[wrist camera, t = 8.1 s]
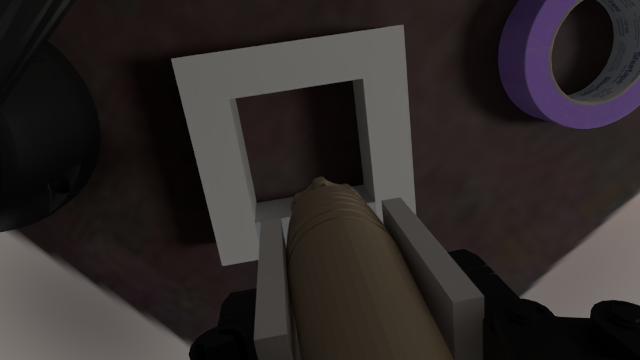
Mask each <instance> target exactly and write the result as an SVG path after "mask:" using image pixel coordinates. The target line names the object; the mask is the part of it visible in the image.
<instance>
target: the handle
mask: <svg viewBox="0 0 640 360" xmlns="http://www.w3.org/2000/svg"><path fill="white" fill-rule="evenodd" d="M291 211H292V215H291V218H290V221H289V226H288V232H287V245H286V257H287V273H288V283H289V290H290V295H291V301H292V306H293V312H294V317H295V323H296V328H297V334H298V339H299V345H300V351H301V357H302V360H454V358H453V356H452V354H451V352H450V350H449V348H448V346H447V344H446V342H445V340H444V338H443V336H442V334H441V332H440V331H439V329H438V327H437V325H436V323H435V321H434V319H433V317H432V315H431V313H430V311H429V309H428V307H427V305H426V303H425V301H424V298H423V296H422V294H421V292H420V290H419V288H418V286H417V284H416V282H415V280H414V278H413V276H412V274H411V272H410V270H409V268H408V266H407V264H406V262H405V260H404V257H403V255H402V253H401V251H400V249H399V247H398V245H397V244H396V242H395V241H394V239H393V238H392V236H391V235H390V233H389V231H388V230H387V228H386V227H385V226H384V224H383V223H382V221H381V220H380V219H379V218H378V216H377V215H376V214H375V212H374V211H373V210H372V209H371V207H370V206H369V205H368V204H367V203H366V202H365V201H364V200H363V199H362V198H361V196H360V195H359V193H358V192H357V191H356V190H355V189H354V188H353V187H351V186H350V185H348V184H335V183H332V182H329V181H327V180H326V179H325V178H324V177H318V178H315V179H313V180H312V183H311V184H310V186H309V187H308V188H307V189H305V190H304V191H302V192H300V193H296V194H295V196H294V198H293V200H292V203H291Z"/></svg>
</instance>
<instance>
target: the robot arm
mask: <svg viewBox="0 0 640 360" xmlns="http://www.w3.org/2000/svg"><path fill="white" fill-rule="evenodd" d="M75 1H76V0H0V232H4V231H9V230H14V229H18V228H22V227H25V226H28V225H31V224H34V223H36V222H38V221H40V220H42V219H44V218H46V217H48V216H50V215H51V214H53V213H54V212H56V211H57V210H58V209H60V208H61V207H62V206H64V205H65V204H66V203H68V202H69V201H70V200H72V199H73V198H74V197H75V196H76V195H77V194H78V193H79V192H80V191H81V190H82V189H83V187H84V186H85V185H86V183H87V182H88V180H89V178H90V177H91V175H92V173H93V171H94V168H95V166H96V162H97V159H98V155H99V149H100V126H99V119H98V114H97V111H96V107H95V104H94V102H93V99H92V97H91V94H90V92H89V90H88V88H87V86H86V84H85V83H84V81H83V79H82V78H81V76H80V75H79V73H78V72H77V71H76V69H75V68H74V67H73V65H72V64H71V63H70V62H69V61H68V60H67V58H66V57H65V56H64V55H63V54H62V53H61V52H60V51H59V50H58V49H56V48H55V47H54V46H53V45H52V44H51V43H49V42H48V39H49V38H50V36H51V35H52V33H53V32H54V31H55V29H56V28H57V26H58V25H59V24H60V22H61V21H62V19H63V18H64V16H65V15H66V14H67V12H68V11H69V9H70V8H71V6H72V5H73V4H74V2H75ZM381 203H382V213H383V223H384V226H385V227H386V228H387V230H388V231H389V233H390V235H391V236H392V238H393V239H394V241H395V242H396V244H397V245H398V247H399V249H400V251H401V253H402V255H403V257H404V260H405V262H406V264H407V266H408V268H409V270H410V272H411V274H412V276H413V278H414V280H415V282H416V284H417V286H418V288H419V290H420V292H421V294H422V296H423V298H424V301H425V303H426V305H427V307H428V309H429V311H430V313H431V315H432V317H433V319H434V321H435V323H436V325H437V327H438V329H439V331H440V332H441V334H442V336H443V338H444V340H445V342H446V344H447V346H448V348H449V350H450V352H451V354H452V356H453V358H454V360H640V306H639V305H636V304H633V303H629V302H625V301H617V300H609V301H601V302H599V303H597V304H595V305H594V306H593V308H592V309H591V315H590V318H571V317H557V316H554V314H553V313H552V312H551V311H550V310H549V309H548V308H547V307H545V306H543V305H541V304H539V303H537V302H535V301H531V300H527V299H520V298H519V297H518V296H517V295H516V294H515V293H514V292H513V291H512V290H511V289H510V288H509V287H508V286H507V285H506V284H505V283H504V282H503V281H502V280H501V278H500V277H499V276H498V275H497V274H495V273H494V271H493V270H492V269H491V268H490V267H488V266H487V264H486V263H485V262H484V261H483V260H482V259H481V258H480V257H479V256H478V255H476V254H474V253H471V252H469V251H467V250H465V249H462V250H456V251H451V252H446V250H445V249H444V248H443V247H442V246H441V245H440V243H439V242H438V241H437V240H436V239H435V237H434V236H433V235H432V234H431V233H430V232H429V230H428V229H427V228H426V227H425V226H424V224H423V223H422V222H421V221H420V220H419V219H418V217H417V216H416V215H415V214H414V213H413V211H412V210H411V209H410V208H409V207H408V206H407V204H406V203H405V202H404V201H403V200H402V198H401V197H399V198H393V199H387V200H382V201H381ZM189 357H190V360H299V351H298V340H297V328H296V323H295V317H294V312H293V306H292V301H291V295H290V290H289V283H288V273H287V257H286V244H285V238H284V233H283V228H282V222H281V218H278V219H272V220H266V221H261V227H260V244H259V260H258V277H257V288H255V289H250V290H245V291H239V292H234V293H230V294H229V296H228V297H227V298H226V300H225V301H224V302H223V304H222V306H221V311H220V318H219V322H218V327H215V328H213V329H211V330H208V331H206V332H205V333H203V334H202V335H201V336H199V337H198V338H197V339H196V340H195V342H194V343H193V344H192V345H191V348H190V352H189Z"/></svg>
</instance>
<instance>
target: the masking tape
mask: <svg viewBox="0 0 640 360" xmlns="http://www.w3.org/2000/svg"><path fill="white" fill-rule="evenodd" d="M581 1H583V0H519V1H518V2H517V4H516V5H515V7H514V8H513V10H512V11H511V13H510V15H509V17H508V19H507V21H506V23H505V26H504V28H503V32H502V35H501V39H500V43H499V51H498V68H499V74H500V79H501V82H502V85H503V87H504V89H505V91H506V93H507V95H508V96H509V98H510V99H511V101H512V102H513V103H514V104H515V105H516V106H517V107H518V108H519V109H521V110H522V111H523V112H525V113H527V114H528V115H530V116H533V117H536V118H539V119H542V120H545V121H549V122H552V123H555V124H559V125H562V126H565V127H569V128H576V129H590V128H596V127H601V126H604V125H607V124H610V123H612V122H615V121H617V120H619V119H621V118H622V117H624V116H626V115H627V114H629V113H630V112H632V111H633V110H634V109H636V108H637V107H638V106H639V105H640V0H596V1H598V2H599V3H601V4H602V6H604V7H605V9H606V10H607V12H608V14H609V15H610V18H611V20H612V24H613V31H614V42H613V47H612V51H611V55H610V57H609V60H608V62H607V64H606V66H605V68H604V69H603V71H602V72H601V73H600V75H599V76H598V77H597V78H596V79H595V80H594V81H593V82H592V83H591V84H590V85H588V86H587V87H586V88H584V89H583V90H581V91H579V92H576V93H574V94H571V95H566V94H565V93H563V92H562V91H561V89H560V88H559V86H558V85H557V83H556V81H555V79H554V76H553V72H552V64H551V53H552V47H553V43H554V39H555V36H556V34H557V31H558V29H559V27H560V25H561V24H562V22H563V21H564V20H565V18H566V17H567V15H568V14H569V13H570V11H571V10H572V9H573V8H574V7H575V6H576V5H577V4H579V3H580V2H581Z"/></svg>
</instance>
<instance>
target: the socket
mask: <svg viewBox="0 0 640 360" xmlns="http://www.w3.org/2000/svg"><path fill="white" fill-rule="evenodd" d="M171 61H172V65H173V69H174V73H175V77H176V81H177V85H178V89H179V93H180V97H181V101H182V105H183V109H184V113H185V117H186V121H187V125H188V129H189V133H190V137H191V141H192V146H193V150H194V154H195V158H196V162H197V166H198V170H199V174H200V178H201V182H202V186H203V190H204V194H205V198H206V202H207V206H208V210H209V214H210V218H211V222H212V226H213V230H214V234H215V238H216V242H217V246H218V250H219V254H220V258H221V262H222V266H226V265H231V264H237V263H242V262H248V261H254V260H259V244H260V227H261V221H266V220H272V219H278V218H281V222H282V228H283V233H284V238H285V244H286V245H287V232H288V226H289V221H290V218H291V215H292V211H291V203H292V200H293V198H294V197H288V198H282V199H277V200H271V201H265V202H259V203H257V202H256V197H255V192H254V187H253V182H252V178H251V173H250V168H249V163H248V158H247V153H246V148H245V143H244V139H243V134H242V129H241V124H240V119H239V114H238V109H237V104H236V99H235V98H240V97H246V96H253V95H259V94H266V93H272V92H279V91H285V90H292V89H298V88H305V87H311V86H318V85H324V84H331V83H337V82H344V81H350V80H353V89H354V98H355V108H356V117H357V126H358V135H359V144H360V153H361V162H362V172H363V181H364V185H359V186H353V188H354V189H355V190H356V191H357V192H358V193H359V195H360V196H361V198H362V199H363V200H364V201H365V202H366V203H367V204H368V205H369V206H370V207H371V209H372V210H373V211H374V212H375V214H376V215H377V216H378V218H379V219H380V220H381V221H382V223H383V213H382V203H381V201H382V200H387V199H393V198H399V197H401V198H402V200H403V201H404V202H405V203H406V204H407V206H408V207H409V208H410V209H411V210H412V211H413V213H414V214H415V215H416V207H415V192H414V177H413V162H412V146H411V131H410V116H409V101H408V86H407V71H406V56H405V41H404V26H403V25H398V26H391V27H384V28H377V29H370V30H364V31H357V32H350V33H343V34H336V35H329V36H323V37H316V38H309V39H302V40H295V41H288V42H282V43H275V44H268V45H261V46H254V47H247V48H241V49H234V50H227V51H220V52H213V53H206V54H200V55H193V56H186V57H179V58H172V59H171ZM383 224H384V223H383Z"/></svg>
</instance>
